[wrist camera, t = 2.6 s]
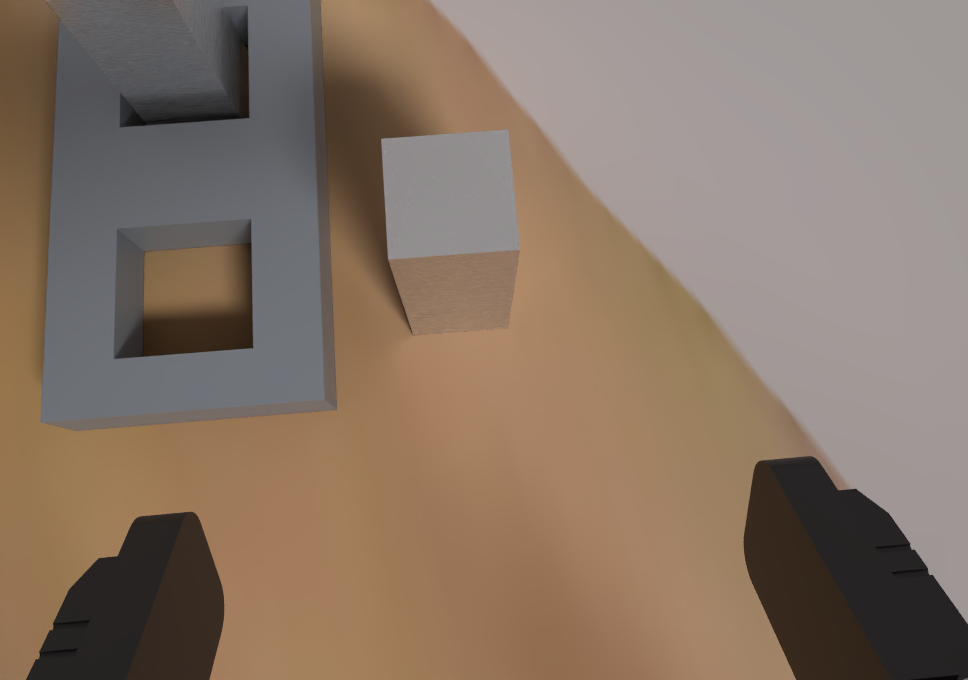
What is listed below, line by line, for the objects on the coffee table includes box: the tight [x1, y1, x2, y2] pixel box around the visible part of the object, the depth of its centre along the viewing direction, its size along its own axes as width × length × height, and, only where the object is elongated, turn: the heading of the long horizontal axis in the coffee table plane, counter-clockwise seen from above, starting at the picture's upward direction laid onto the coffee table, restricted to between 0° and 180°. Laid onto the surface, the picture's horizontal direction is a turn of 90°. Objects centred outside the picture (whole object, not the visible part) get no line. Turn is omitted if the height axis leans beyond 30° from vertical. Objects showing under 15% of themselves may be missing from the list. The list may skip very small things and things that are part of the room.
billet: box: [381, 130, 520, 336], centre depth 33 cm, size 4×4×11 cm
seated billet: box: [45, 0, 250, 125], centre depth 35 cm, size 4×4×11 cm
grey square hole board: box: [41, 0, 337, 431], centre depth 38 cm, size 22×12×3 cm, turn 5°
